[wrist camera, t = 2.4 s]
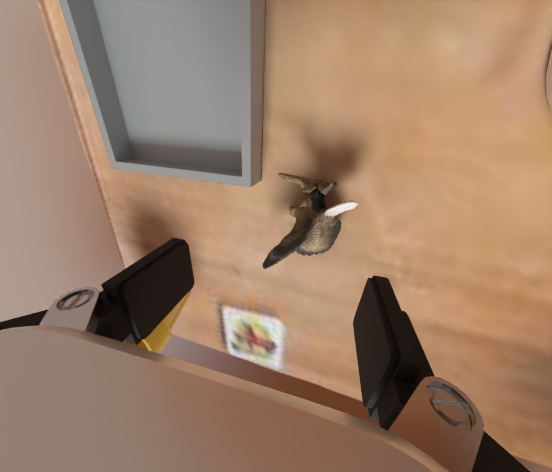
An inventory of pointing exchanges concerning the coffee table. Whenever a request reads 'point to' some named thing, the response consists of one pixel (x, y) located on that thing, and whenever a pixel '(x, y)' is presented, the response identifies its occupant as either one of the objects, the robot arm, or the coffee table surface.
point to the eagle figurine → (310, 222)
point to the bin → (175, 84)
